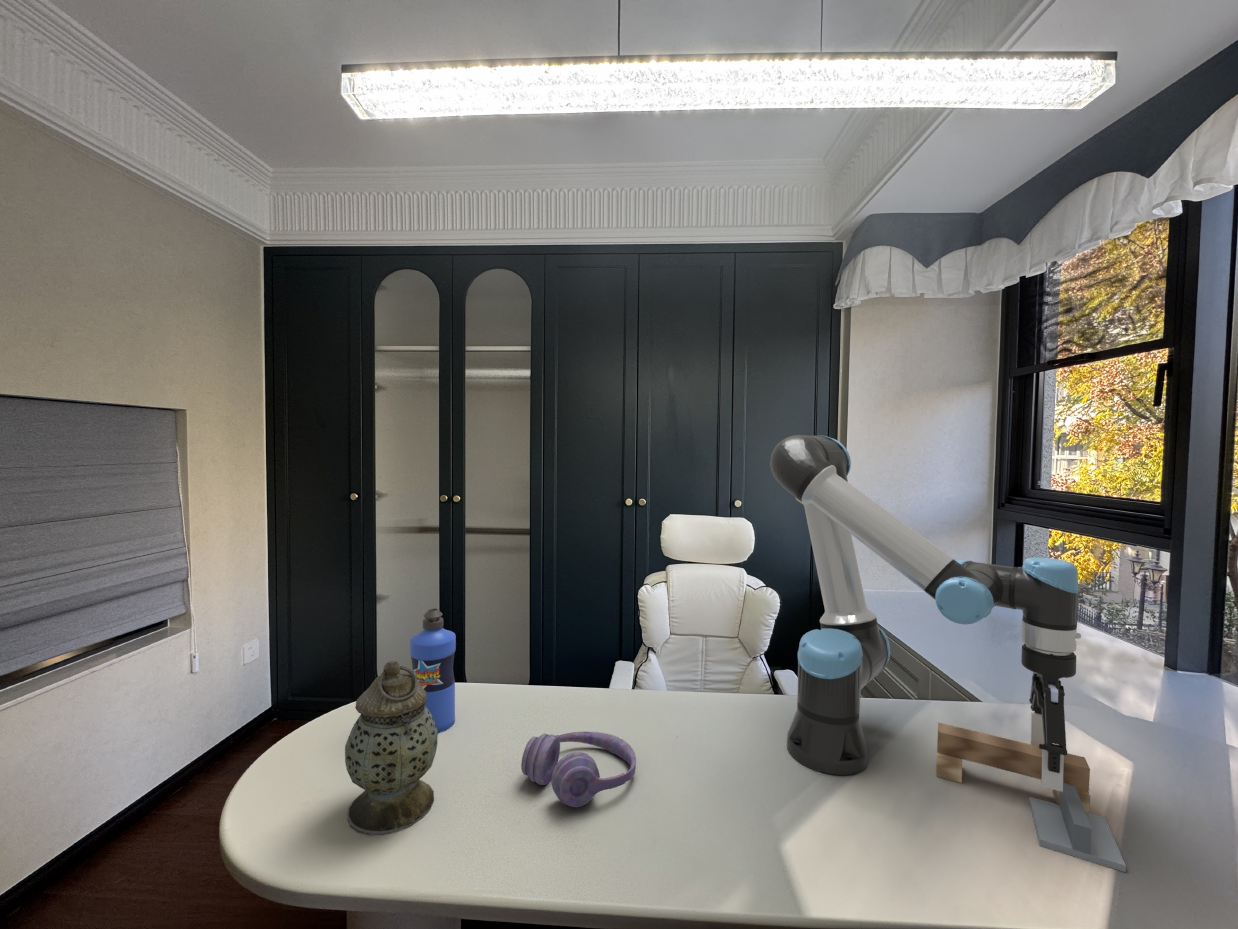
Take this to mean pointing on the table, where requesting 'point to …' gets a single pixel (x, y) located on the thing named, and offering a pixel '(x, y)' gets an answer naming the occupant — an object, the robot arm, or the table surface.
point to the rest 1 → (949, 767)
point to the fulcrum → (1075, 830)
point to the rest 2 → (1082, 794)
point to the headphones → (574, 765)
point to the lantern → (391, 754)
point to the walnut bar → (1007, 754)
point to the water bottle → (435, 668)
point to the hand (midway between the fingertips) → (1045, 767)
